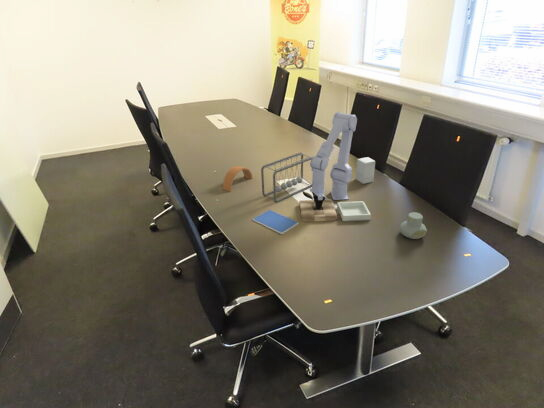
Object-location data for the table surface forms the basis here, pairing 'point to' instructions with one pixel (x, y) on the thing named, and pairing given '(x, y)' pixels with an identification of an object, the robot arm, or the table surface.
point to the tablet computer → (275, 221)
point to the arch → (232, 173)
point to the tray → (353, 211)
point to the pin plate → (317, 211)
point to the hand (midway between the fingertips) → (317, 206)
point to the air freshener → (413, 226)
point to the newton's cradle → (288, 183)
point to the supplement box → (365, 170)
